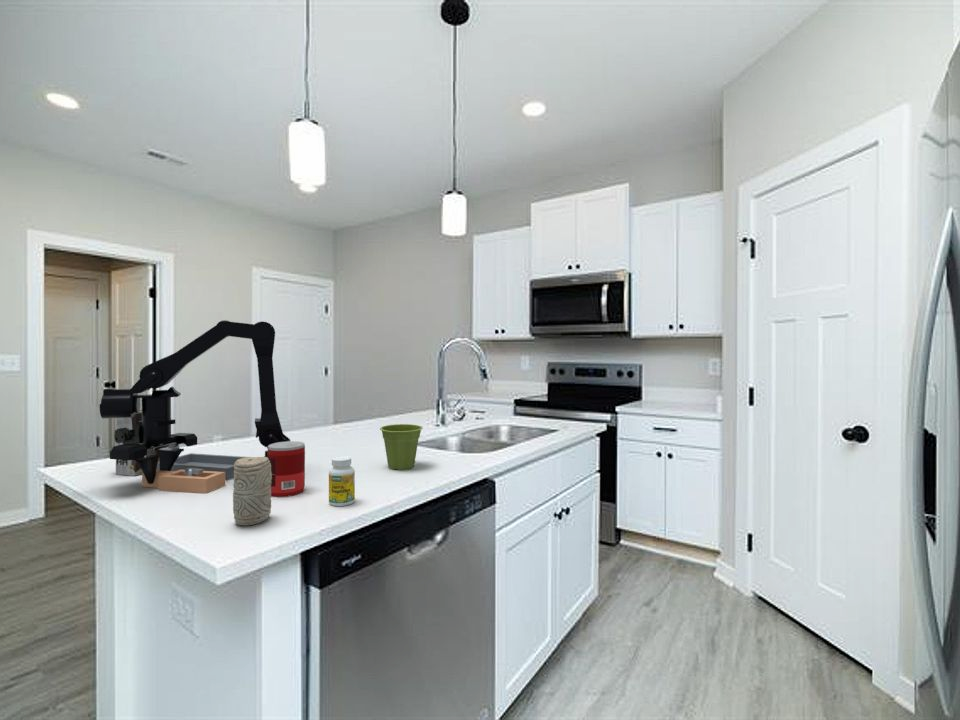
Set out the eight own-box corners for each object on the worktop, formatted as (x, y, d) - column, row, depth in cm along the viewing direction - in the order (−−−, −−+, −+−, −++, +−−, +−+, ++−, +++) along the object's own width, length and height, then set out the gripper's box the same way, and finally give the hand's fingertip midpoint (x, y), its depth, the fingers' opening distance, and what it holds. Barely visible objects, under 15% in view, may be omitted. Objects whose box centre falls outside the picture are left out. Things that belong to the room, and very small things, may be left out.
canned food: (311, 488, 111) (311, 442, 111) (287, 499, 103) (287, 449, 103) (285, 485, 113) (285, 440, 113) (259, 495, 106) (260, 446, 106)
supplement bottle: (355, 498, 104) (355, 455, 104) (354, 506, 99) (354, 460, 99) (329, 499, 103) (329, 456, 103) (327, 507, 98) (327, 461, 98)
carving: (225, 528, 86) (225, 463, 86) (245, 514, 93) (245, 454, 93) (259, 529, 86) (260, 463, 86) (277, 514, 93) (277, 454, 93)
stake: (204, 488, 110) (204, 468, 110) (197, 490, 109) (197, 470, 108) (189, 486, 111) (189, 467, 111) (183, 489, 109) (183, 469, 109)
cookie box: (135, 476, 120) (135, 413, 120) (114, 474, 121) (114, 412, 121) (166, 467, 129) (165, 409, 129) (146, 466, 130) (146, 408, 130)
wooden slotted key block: (225, 485, 113) (225, 472, 113) (206, 493, 107) (206, 479, 107) (158, 481, 116) (158, 468, 115) (135, 488, 109) (135, 475, 109)
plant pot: (370, 468, 131) (370, 427, 130) (400, 460, 140) (401, 422, 140) (401, 475, 124) (401, 432, 124) (431, 466, 134) (431, 426, 133)
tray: (259, 468, 129) (259, 457, 129) (227, 480, 117) (227, 468, 117) (190, 463, 134) (190, 453, 134) (153, 474, 122) (153, 463, 122)
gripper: (162, 410, 122) (162, 469, 123) (89, 420, 104) (89, 490, 105) (198, 411, 120) (199, 472, 121) (130, 422, 102) (131, 494, 102)
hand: (157, 481), depth 112 cm, fingers closed on wooden slotted key block, 3 cm apart
